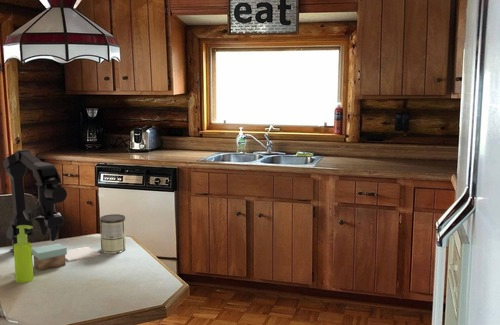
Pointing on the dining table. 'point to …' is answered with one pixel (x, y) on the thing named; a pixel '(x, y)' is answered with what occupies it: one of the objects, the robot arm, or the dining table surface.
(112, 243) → the coffee can
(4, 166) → the robot arm
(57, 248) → the lid
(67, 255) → the mat
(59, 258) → the wooden box
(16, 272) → the soap dispenser
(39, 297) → the dining table surface
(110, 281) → the dining table surface
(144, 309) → the dining table surface
